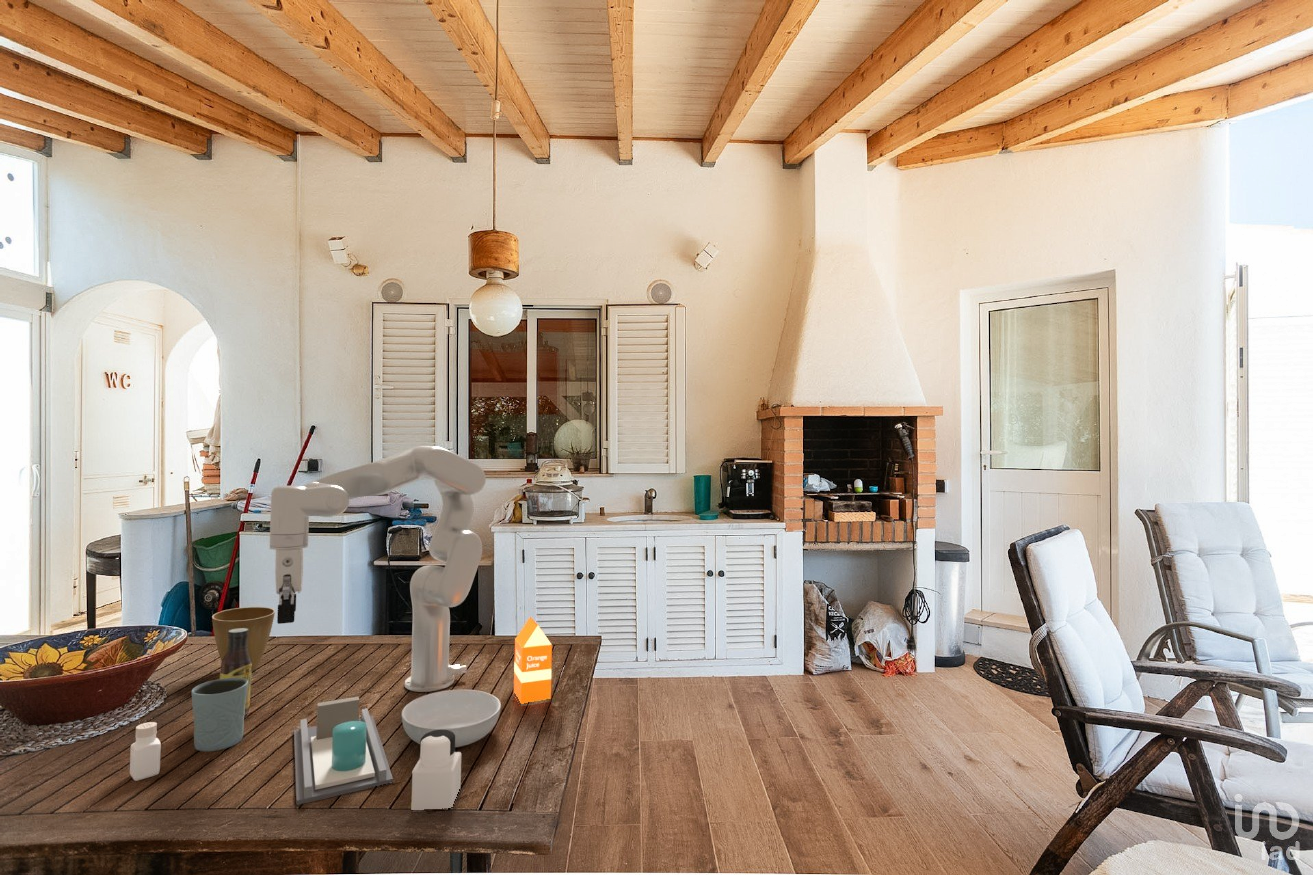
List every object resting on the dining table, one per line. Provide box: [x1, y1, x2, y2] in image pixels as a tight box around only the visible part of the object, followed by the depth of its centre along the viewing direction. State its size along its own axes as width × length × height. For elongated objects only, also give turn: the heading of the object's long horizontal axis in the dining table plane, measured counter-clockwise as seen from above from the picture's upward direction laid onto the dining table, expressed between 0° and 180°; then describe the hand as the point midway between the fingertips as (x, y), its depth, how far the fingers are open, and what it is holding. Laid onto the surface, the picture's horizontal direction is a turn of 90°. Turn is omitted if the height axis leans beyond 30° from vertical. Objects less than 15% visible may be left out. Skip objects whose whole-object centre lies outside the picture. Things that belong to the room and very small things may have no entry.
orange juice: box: [513, 616, 553, 704], centre depth 164 cm, size 8×9×20 cm
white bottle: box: [410, 729, 462, 811], centre depth 116 cm, size 7×7×12 cm
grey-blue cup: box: [191, 678, 248, 752], centre depth 137 cm, size 10×10×12 cm
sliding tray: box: [311, 696, 375, 790], centre depth 129 cm, size 10×22×8 cm, turn 30°
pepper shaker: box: [129, 721, 162, 782], centre depth 122 cm, size 4×4×10 cm
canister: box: [332, 721, 367, 771], centre depth 125 cm, size 6×6×7 cm
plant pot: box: [211, 606, 276, 672], centre depth 179 cm, size 15×15×16 cm
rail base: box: [293, 707, 394, 806], centre depth 131 cm, size 16×32×3 cm, turn 30°
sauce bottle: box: [219, 628, 253, 716], centre depth 150 cm, size 7×6×20 cm
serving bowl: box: [401, 689, 502, 748], centre depth 141 cm, size 21×21×7 cm
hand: (286, 617), depth 143 cm, fingers open, 9 cm apart
